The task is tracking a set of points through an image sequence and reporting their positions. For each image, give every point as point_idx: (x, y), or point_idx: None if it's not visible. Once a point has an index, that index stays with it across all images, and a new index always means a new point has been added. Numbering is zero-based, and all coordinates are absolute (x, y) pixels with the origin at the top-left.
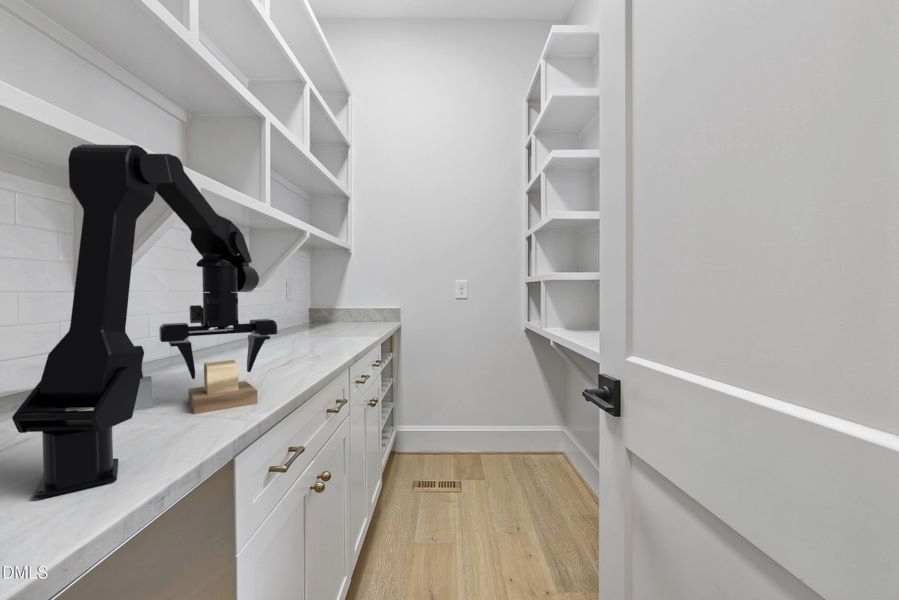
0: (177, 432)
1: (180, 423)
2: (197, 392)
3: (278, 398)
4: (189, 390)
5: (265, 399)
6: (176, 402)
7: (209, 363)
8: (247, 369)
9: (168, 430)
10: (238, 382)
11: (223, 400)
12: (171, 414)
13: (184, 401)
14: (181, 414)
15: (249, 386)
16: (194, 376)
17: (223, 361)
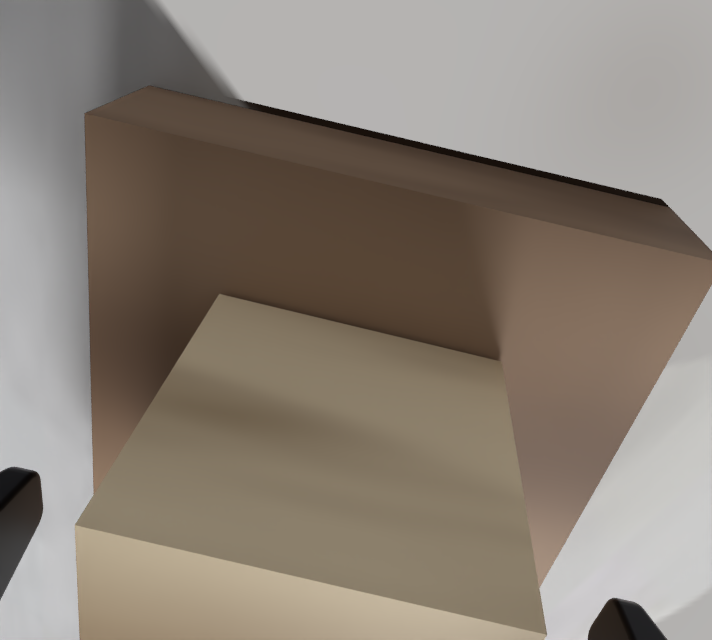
0: (47, 633)
1: (61, 551)
2: (145, 361)
3: (671, 551)
4: (89, 217)
5: (602, 510)
6: (47, 22)
7: (143, 623)
8: (609, 635)
9: (13, 593)
10: (618, 268)
11: None
12: (17, 373)
13: (116, 47)
14: (72, 418)
15: (561, 506)
16: (23, 544)
17: (360, 637)
